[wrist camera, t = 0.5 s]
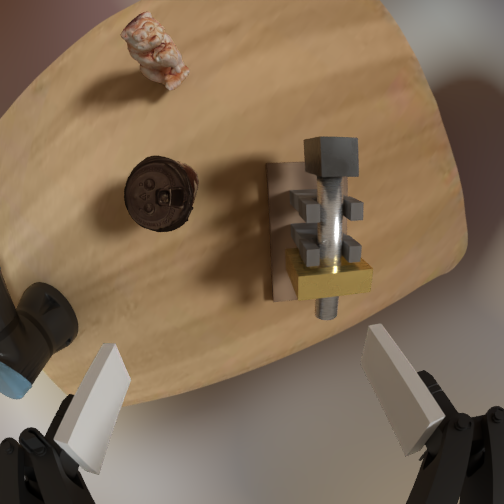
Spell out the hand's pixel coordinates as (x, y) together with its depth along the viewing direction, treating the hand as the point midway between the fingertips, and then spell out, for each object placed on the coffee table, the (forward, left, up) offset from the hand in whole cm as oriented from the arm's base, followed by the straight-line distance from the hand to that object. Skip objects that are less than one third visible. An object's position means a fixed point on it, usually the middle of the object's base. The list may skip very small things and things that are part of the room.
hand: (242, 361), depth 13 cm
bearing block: (+11, -3, -30) cm, 32 cm away
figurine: (-8, +24, -31) cm, 40 cm away
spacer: (+11, -5, -25) cm, 28 cm away
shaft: (+11, 0, -23) cm, 25 cm away
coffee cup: (-8, +6, -31) cm, 32 cm away
